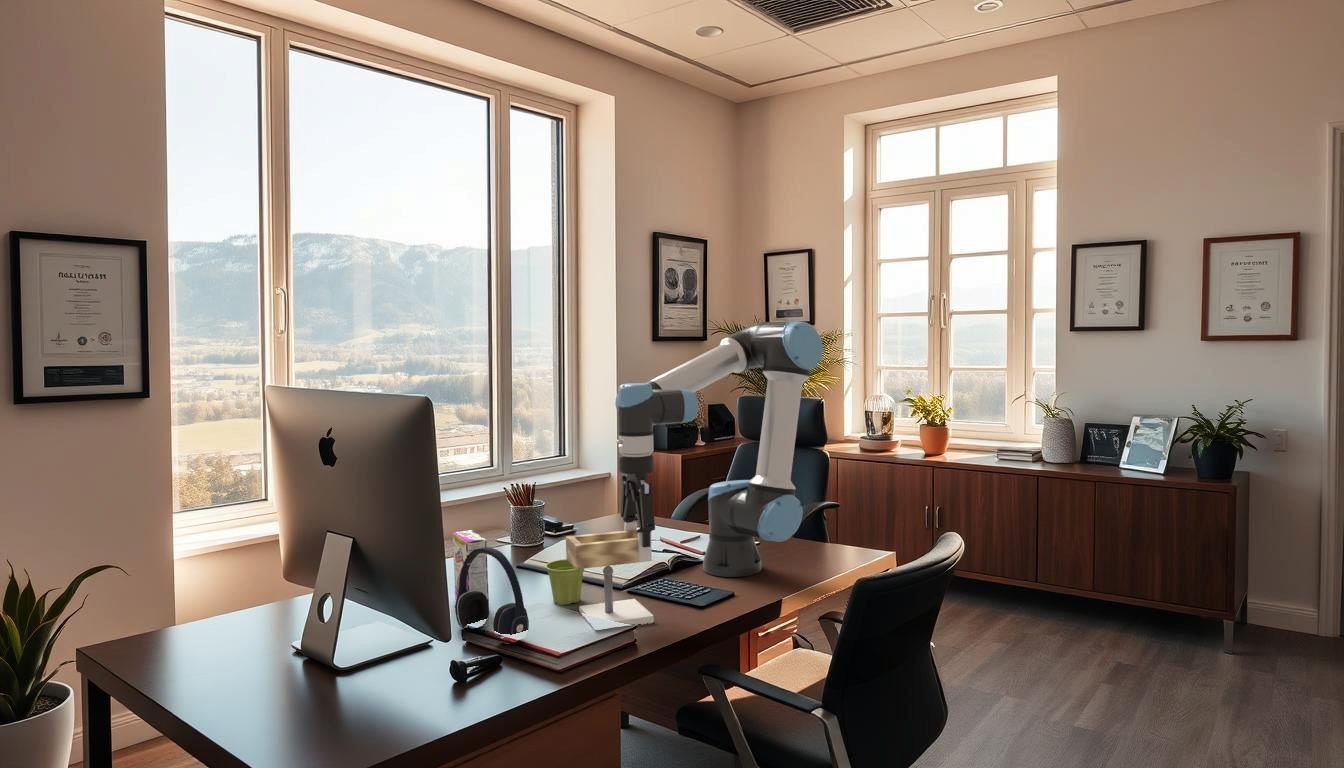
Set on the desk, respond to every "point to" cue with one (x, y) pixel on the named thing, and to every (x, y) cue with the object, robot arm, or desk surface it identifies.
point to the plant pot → (565, 581)
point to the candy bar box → (478, 568)
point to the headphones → (476, 604)
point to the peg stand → (617, 606)
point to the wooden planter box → (602, 549)
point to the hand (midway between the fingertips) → (637, 555)
